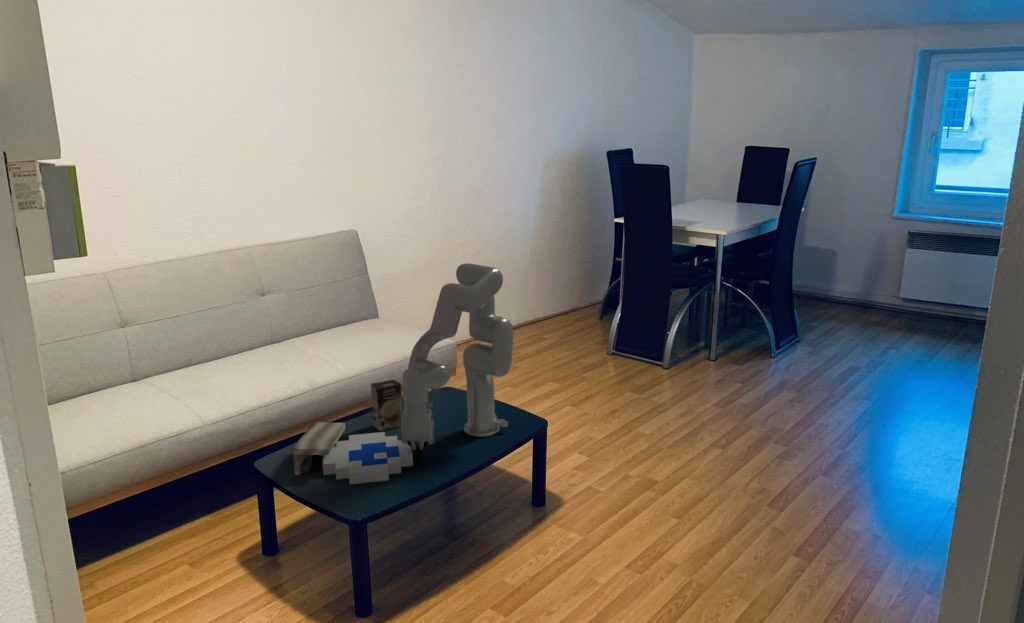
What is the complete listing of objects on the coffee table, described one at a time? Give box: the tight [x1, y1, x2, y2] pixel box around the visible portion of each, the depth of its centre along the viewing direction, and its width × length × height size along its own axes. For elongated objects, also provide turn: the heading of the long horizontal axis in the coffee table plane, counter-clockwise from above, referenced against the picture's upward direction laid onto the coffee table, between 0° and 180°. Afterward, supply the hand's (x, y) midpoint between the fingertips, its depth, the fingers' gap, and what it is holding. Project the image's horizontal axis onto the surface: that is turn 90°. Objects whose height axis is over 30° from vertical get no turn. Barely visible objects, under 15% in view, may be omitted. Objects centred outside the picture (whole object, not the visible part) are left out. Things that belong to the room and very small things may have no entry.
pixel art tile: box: [322, 431, 414, 485], centre depth 255 cm, size 28×4×28 cm
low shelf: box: [292, 421, 346, 476], centre depth 255 cm, size 11×20×9 cm, turn 176°
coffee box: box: [370, 379, 403, 432], centre depth 280 cm, size 9×6×16 cm
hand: (419, 459), depth 253 cm, fingers closed
